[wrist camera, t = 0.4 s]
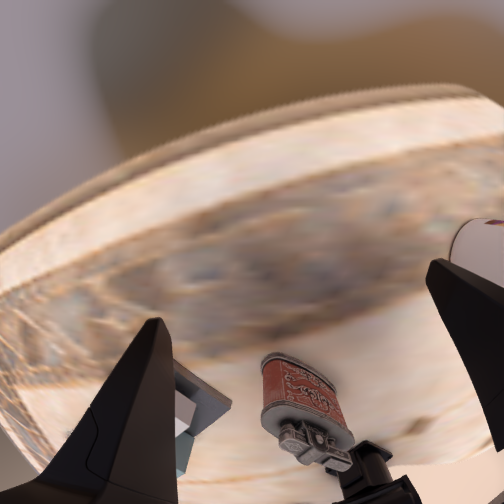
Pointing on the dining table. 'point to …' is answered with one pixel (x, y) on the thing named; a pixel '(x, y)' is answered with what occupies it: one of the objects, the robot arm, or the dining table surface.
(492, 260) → the milk bottle
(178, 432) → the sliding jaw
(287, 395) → the lighter
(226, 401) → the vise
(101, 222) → the dining table surface
